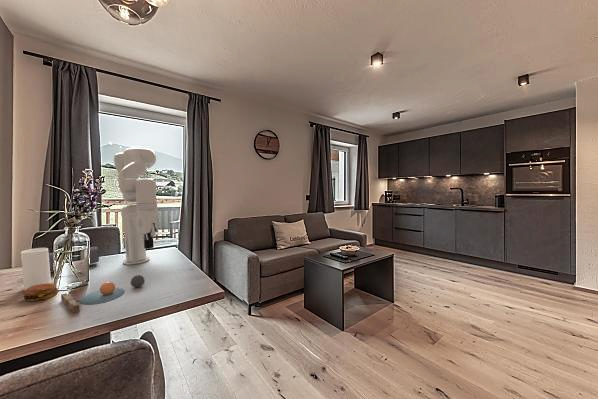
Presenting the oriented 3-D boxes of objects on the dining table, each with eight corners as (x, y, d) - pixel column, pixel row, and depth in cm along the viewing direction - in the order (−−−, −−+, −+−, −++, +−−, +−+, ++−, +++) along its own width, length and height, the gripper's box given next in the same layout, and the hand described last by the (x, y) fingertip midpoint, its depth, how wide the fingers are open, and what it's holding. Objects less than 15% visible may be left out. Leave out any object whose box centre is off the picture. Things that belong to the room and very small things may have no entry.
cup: (37, 290, 109) (34, 252, 108) (18, 290, 109) (14, 252, 108) (56, 283, 117) (53, 247, 116) (38, 283, 118) (35, 247, 116)
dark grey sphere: (139, 270, 114) (140, 279, 116) (127, 277, 110) (128, 285, 112) (146, 276, 112) (147, 285, 114) (135, 283, 108) (136, 291, 110)
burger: (45, 291, 109) (44, 280, 109) (64, 292, 108) (63, 281, 107) (16, 302, 100) (14, 290, 99) (36, 304, 98) (35, 291, 98)
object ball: (115, 286, 109) (103, 295, 106) (107, 277, 107) (95, 287, 104) (119, 288, 106) (107, 298, 103) (111, 280, 104) (98, 290, 101)
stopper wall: (61, 300, 100) (60, 294, 100) (66, 299, 101) (66, 293, 101) (74, 313, 90) (73, 306, 90) (79, 311, 91) (79, 304, 91)
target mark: (74, 297, 102) (74, 297, 102) (116, 285, 113) (116, 285, 113) (86, 308, 94) (86, 307, 94) (130, 294, 105) (130, 293, 105)
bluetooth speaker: (97, 262, 147) (95, 244, 147) (99, 265, 141) (98, 247, 140) (40, 272, 132) (38, 252, 131) (40, 277, 125) (38, 256, 124)
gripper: (129, 206, 117) (132, 247, 118) (145, 208, 108) (148, 252, 109) (147, 205, 123) (150, 244, 124) (163, 207, 114) (166, 248, 115)
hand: (149, 248), depth 117 cm, fingers closed
